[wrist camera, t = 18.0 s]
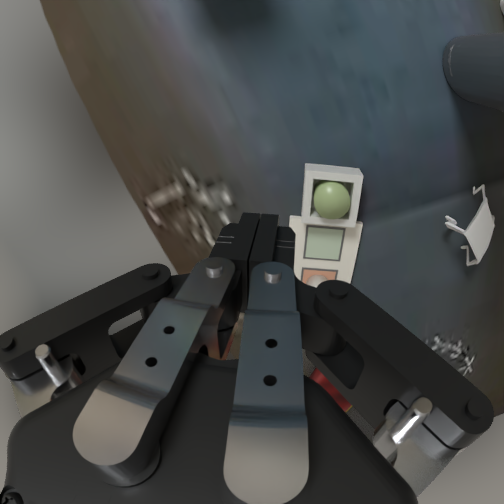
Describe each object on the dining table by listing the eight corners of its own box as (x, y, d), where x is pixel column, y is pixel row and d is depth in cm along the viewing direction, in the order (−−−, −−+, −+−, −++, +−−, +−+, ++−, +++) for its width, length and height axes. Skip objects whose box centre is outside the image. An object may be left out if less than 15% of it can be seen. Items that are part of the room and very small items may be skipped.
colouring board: (361, 221, 41) (362, 224, 40) (345, 299, 48) (345, 303, 48) (290, 215, 42) (289, 218, 41) (284, 294, 50) (283, 298, 49)
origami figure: (434, 197, 37) (447, 212, 33) (480, 178, 34) (497, 191, 30) (448, 262, 42) (458, 281, 38) (489, 244, 39) (502, 261, 35)
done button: (349, 179, 37) (352, 187, 35) (344, 210, 39) (347, 220, 37) (314, 175, 38) (315, 183, 35) (311, 207, 40) (312, 217, 37)
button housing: (359, 168, 37) (363, 175, 34) (351, 217, 41) (355, 227, 38) (304, 163, 38) (305, 170, 35) (301, 212, 42) (301, 222, 39)
